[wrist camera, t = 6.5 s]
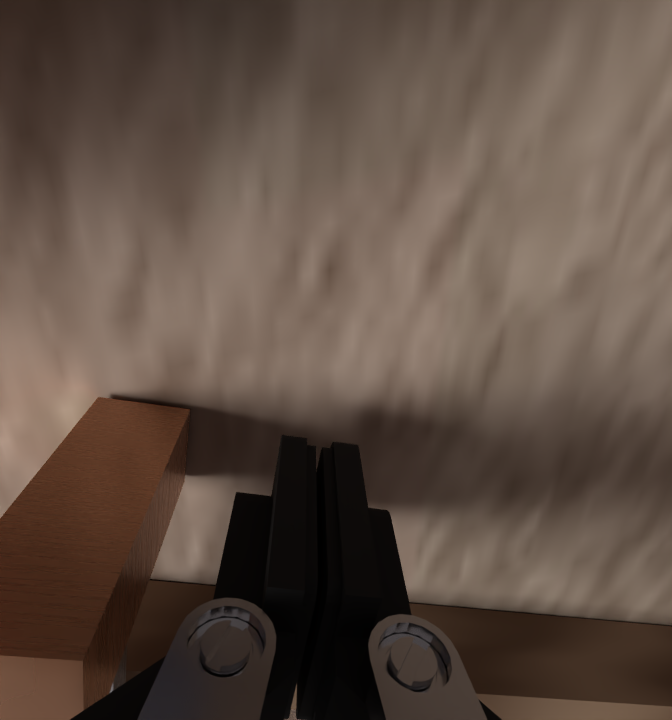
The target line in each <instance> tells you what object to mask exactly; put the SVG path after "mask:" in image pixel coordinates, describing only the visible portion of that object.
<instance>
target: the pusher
mask: <svg viewBox="0 0 672 720" xmlns="http://www.w3.org/2000/svg"><path fill="white" fill-rule="evenodd" d="M189 420H190V409H185V408H177V407H170V406H162V405H155V404H147V403H139V402H132V401H124V400H116V399H109V398H101V397H98V398H97V399H96V401H95V402H94V403H93V404H92V406H91V407H90V408H89V409H88V411H87V412H86V413H85V414H84V415H83V417H82V418H81V419H80V420H79V422H78V423H77V424H76V425H75V427H74V428H73V429H72V430H71V432H70V433H69V434H68V435H67V437H66V438H65V439H64V440H63V441H62V443H61V444H60V445H59V446H58V448H57V449H56V450H55V451H54V453H53V454H52V455H51V456H50V458H49V459H48V460H47V461H46V463H45V464H44V465H43V466H42V467H41V469H40V470H39V471H38V472H37V474H36V475H35V476H34V477H33V479H32V480H31V481H30V482H29V484H28V485H27V486H26V487H25V489H24V490H23V491H22V492H21V493H20V495H19V496H18V497H17V498H16V500H15V501H14V502H13V503H12V505H11V506H10V507H9V508H8V510H7V511H6V512H5V513H4V515H3V516H2V517H1V518H0V720H70V719H71V718H73V717H74V716H76V715H77V714H79V713H80V712H82V711H83V710H85V709H86V708H88V707H89V706H91V705H92V704H94V703H95V702H97V701H99V700H100V699H102V698H103V697H105V696H106V695H108V694H109V693H111V692H112V691H114V690H115V689H117V688H118V687H120V686H121V685H123V684H124V683H126V661H127V642H128V639H129V636H130V633H131V630H132V628H133V625H134V622H135V619H136V616H137V614H138V611H139V608H140V605H141V602H142V599H143V597H144V594H145V591H146V588H147V585H148V582H149V580H150V577H151V574H152V571H153V568H154V566H155V563H156V560H157V557H158V554H159V551H160V549H161V546H162V543H163V540H164V537H165V535H166V532H167V529H168V526H169V523H170V520H171V518H172V515H173V512H174V509H175V506H176V503H177V501H178V498H179V495H180V492H181V489H182V487H183V484H184V480H185V468H186V456H187V444H188V432H189Z"/></svg>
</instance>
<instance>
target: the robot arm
mask: <svg viewBox="0 0 672 720" xmlns="http://www.w3.org/2000/svg"><path fill="white" fill-rule="evenodd" d="M296 684H297V697H296V718H297V719H301V720H502V719H501V718H500V717H498V716H497V715H496V714H495V713H494V712H493V711H491V710H490V709H489V708H488V707H487V706H486V705H485V704H483V703H482V702H481V701H480V700H479V699H478V697H477V695H476V693H475V690H474V688H473V686H472V683H471V681H470V679H469V677H468V674H467V672H466V670H465V667H464V665H463V663H462V661H461V658H460V656H459V654H458V652H457V650H456V648H455V647H454V645H453V643H452V642H451V640H450V639H449V638H448V637H447V636H446V635H445V634H444V633H443V632H442V631H441V630H440V629H439V628H438V627H436V626H435V625H433V624H432V623H430V622H429V621H427V620H425V619H422V618H419V617H416V616H414V615H412V614H411V609H410V605H409V600H408V595H407V591H406V586H405V581H404V577H403V572H402V567H401V562H400V558H399V553H398V548H397V544H396V539H395V534H394V530H393V525H392V520H391V516H390V513H389V512H388V511H387V510H381V509H373V508H368V504H367V498H366V491H365V485H364V479H363V472H362V466H361V459H360V453H359V447H358V445H354V444H347V443H339V442H332V444H331V448H326V447H322V449H321V453H320V458H319V462H318V467H317V472H316V446H311V445H307V438H302V437H294V436H287V435H282V437H281V442H280V448H279V454H278V460H277V466H276V472H275V478H274V484H273V490H272V496H264V495H256V494H247V493H239V492H236V496H235V500H234V504H233V509H232V514H231V518H230V523H229V528H228V532H227V537H226V542H225V546H224V551H223V556H222V560H221V565H220V570H219V574H218V579H217V584H216V588H215V593H214V597H213V600H211V601H209V602H206V603H204V604H202V605H200V606H198V607H197V608H196V609H194V610H193V611H192V612H191V613H190V614H188V615H187V616H186V618H185V619H184V621H183V622H182V624H181V625H180V627H179V629H178V631H177V633H176V635H175V637H174V640H173V642H172V644H171V646H170V648H169V651H168V653H167V655H166V656H165V657H163V658H162V659H160V660H159V661H157V662H156V663H154V664H153V665H151V666H150V667H148V668H147V669H145V670H144V671H142V672H141V673H139V674H138V675H136V676H135V677H133V678H132V679H130V680H129V681H127V682H126V683H124V684H123V685H121V686H120V687H118V688H117V689H115V690H114V691H112V692H111V693H109V694H108V695H106V696H105V697H103V698H102V699H100V700H99V701H97V702H95V703H94V704H92V705H91V706H89V707H88V708H86V709H85V710H83V711H82V712H80V713H79V714H77V715H76V716H74V717H73V718H71V719H70V720H284V718H285V719H288V718H289V715H290V710H291V706H292V702H293V697H294V693H295V689H296Z"/></svg>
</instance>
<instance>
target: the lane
mask: <svg viewBox="0 0 672 720" xmlns="http://www.w3.org/2000/svg"><path fill="white" fill-rule="evenodd" d="M215 588H216V586H209V585H198V584H186V583H175V582H164V581H152V580H149V582H148V585H147V588H146V591H145V594H144V597H143V599H142V602H141V605H140V608H139V611H138V614H137V616H136V619H135V622H134V625H133V628H132V630H131V633H130V636H129V639H128V642H127V661H126V682H127V681H129V680H130V679H132V678H133V677H135V676H136V675H138V674H139V673H141V672H142V671H144V670H145V669H147V668H148V667H150V666H151V665H153V664H154V663H156V662H157V661H159V660H160V659H162V658H163V657H165V656H166V655H167V653H168V651H169V648H170V646H171V644H172V642H173V640H174V637H175V635H176V633H177V631H178V629H179V627H180V625H181V624H182V622H183V621H184V619H185V618H186V616H187V615H188V614H190V613H191V612H192V611H193V610H194V609H196V608H197V607H198V606H200V605H202V604H204V603H206V602H209V601H211V600H213V597H214V593H215ZM409 605H410V609H411V614H412V615H414V616H416V617H419V618H422V619H425V620H427V621H429V622H430V623H432V624H433V625H435V626H436V627H438V628H439V629H440V630H441V631H442V632H443V633H444V634H445V635H446V636H447V637H448V638H449V639H450V640H451V642H452V643H453V645H454V647H455V648H456V650H457V652H458V654H459V656H460V658H461V661H462V663H463V665H464V667H465V670H466V672H467V674H468V677H469V679H470V681H471V683H472V686H473V688H474V690H475V693H476V695H477V697H478V699H479V700H480V701H481V702H482V703H483V704H485V705H486V706H487V707H488V708H489V709H490V710H491V711H493V712H494V713H495V714H496V715H497V716H498V717H500V718H501V719H502V720H672V626H661V625H650V624H638V623H627V622H616V621H604V620H593V619H582V618H570V617H559V616H548V615H537V614H525V613H514V612H503V611H491V610H480V609H469V608H457V607H446V606H435V605H424V604H412V603H409ZM296 697H297V684H296V689H295V693H294V697H293V702H292V706H291V709H296Z"/></svg>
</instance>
